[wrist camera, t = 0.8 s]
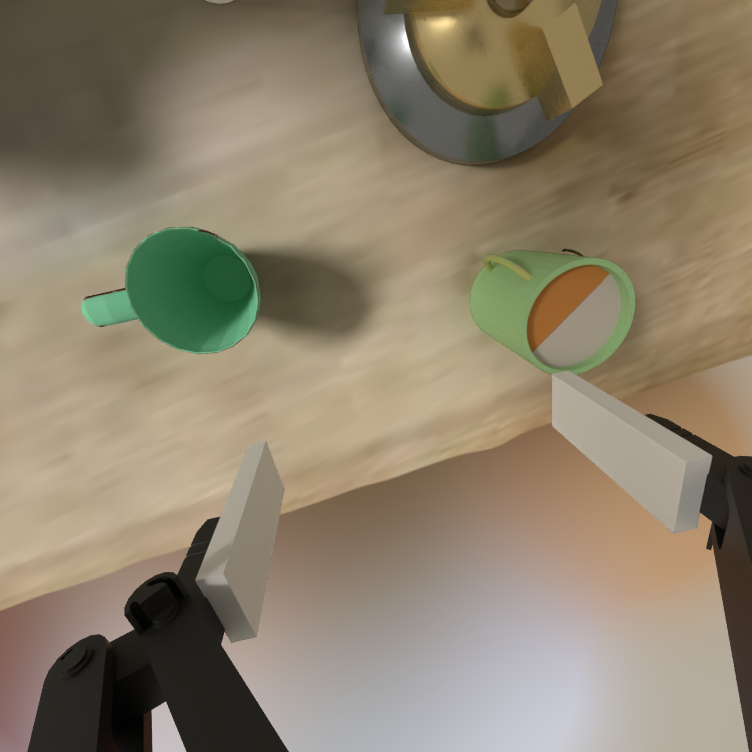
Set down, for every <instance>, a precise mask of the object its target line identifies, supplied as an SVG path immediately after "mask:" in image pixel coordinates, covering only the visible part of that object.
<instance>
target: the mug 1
mask: <svg viewBox="0 0 752 752" xmlns="http://www.w3.org/2000/svg"><path fill="white" fill-rule="evenodd" d="M260 302H261V295H260V289H259V282H258V276H257V274H256V272H255V270H254V268H253V266H252V264H251V262H250V261H249V260H248V259H247V258H246V256H245V255H244V254H243V253H242V252H241V251H240V250H239V249H238V248H237V247H236V246H235V245H233V244H231V243H230V242H228V241H226V240H225V239H223V238H221V237H220V236H218V235H216V234H213V233H211V232H209V231H206V230H202V229H198V228H195V227H171V228H166V229H163V230H161V231H158V232H156V233H153V234H150V235H148V236H147V237H146V238H145V239H144V240H143V241H142V242H141V243H140V244H139V245H138V246H137V247H136V248H135V249H134V250H133V253H132V255H131V257H130V259H129V262H128V264H127V266H126V279H125V288H123V289H119V290H114V291H110V292H106V293H101V294H97V295H92V296H88V297H85V298H84V299H83V301H82V306H81V311H82V314H83V315H84V317H85V318H86V319H87V320H88V321H89V322H90V323H92V324H94V325H96V326H99V327H104V326H109V325H113V324H118V323H123V322H127V321H131V320H135V319H139V321H140V322H141V324H142V325H143V326H144V327H145V328H146V329H147V330H148V331H149V332H150V333H151V334H153V335H154V336H155V337H156V338H157V339H158V340H159V341H161V342H163V343H165V344H167V345H169V346H171V347H173V348H175V349H177V350H181V351H185V352H190V353H194V354H208V353H218V352H220V351H223V350H226V349H228V348H231V347H233V346H235V345H236V344H237V343H238V342H239V341H241V340H242V339H243V338H244V337H245V336H247V335H248V333H249V332H250V330H251V328H252V326H253V325H254V323H255V321H256V319H257V318H258V313H259V308H260Z"/></svg>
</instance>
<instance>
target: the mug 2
mask: <svg viewBox="0 0 752 752" xmlns="http://www.w3.org/2000/svg"><path fill="white" fill-rule="evenodd" d="M562 251H568V252H572V253H575V254H577V255H579V256H573V255H565V254H564V255H563V254H554V253H544V252H534V251H525V250H514V251H509V252H505V253H503V254H501V255H494V254H490V255H487V256H486V257H485V258H484V265H485V266H484V267H483V269H482V270H481V271H480V272H479V274H478V275H477V277H476V279H475V281H474V283H473V286H472V289H471V294H470V310H471V314H472V317H473V319H474V321H475V323H476V324H477V326H478V327H479V328H480V329H481V330H482V331H484V332H485V333H486V334H488V335H489V336H491V337H492V338H494V339H495V340H497V341H498V342H500V343H501V344H503V345H504V346H506V347H507V348H509V349H510V350H512V351H513V352H515V353H516V354H518V355H519V356H521V357H522V358H524V359H525V360H527V361H528V362H529V363H531V364H532V365H534V366H535V367H537V368H538V369H540V370H542V371H544V372H546V373H548V374H555V373H559V372H564V371H570V372H572V373H573V374H575V375H577V374H580V373H583V372H586V371H588V370H590V369H592V368H595V367H596V366H598V365H599V364H601V363H602V362H604V361H605V360H606V359H607V358H608V357H610V356H611V355H612V354H613V353H614V352H615V351H616V349H617V348H618V347H619V346H620V345H621V343H622V342H623V340H624V338H625V337H626V335H627V333H628V331H629V329H630V327H631V324H632V321H633V317H634V312H635V293H634V288H633V285H632V283H631V281H630V279H629V277H628V275H627V274H626V273H625V272H624V270H623V269H621V268H620V267H619V266H618V265H616V264H615V263H612V262H610V261H608V260H605V259H599V258H592V257H584V256H583V255H582V254H580V253H579V252H577V251H574V250H570V249H563V250H562Z"/></svg>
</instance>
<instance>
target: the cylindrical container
mask: <svg viewBox="0 0 752 752" xmlns="http://www.w3.org/2000/svg"><path fill="white" fill-rule="evenodd" d="M205 1H208V2H211V3H217V4H224V3H230V2H232V1H235V0H205Z"/></svg>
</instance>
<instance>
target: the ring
mask: <svg viewBox="0 0 752 752" xmlns="http://www.w3.org/2000/svg"><path fill="white" fill-rule="evenodd" d="M616 4H617V0H601V4H600V8H599V12H598V15H597V18H596V21H595V23H594V26H593V29H592V31H591V33H590V35H589V37H588V41H589V44H590V47H591V50H592V53H593V56H594V59H595V62H596V65H597V68H599V66H600V63H601V61H602V58H603V55H604V53H605V50H606V47H607V44H608V41H609V37H610V33H611V30H612V26H613V22H614V16H615V10H616ZM358 31H359V38H360V45H361V52H362V56H363V60H364V64H365V68H366V72H367V74H368V77H369V80H370V83H371V85H372V88H373V91H374V93H375V95H376V97H377V99H378V101H379V103H380V105H381V107H382V108H383V110H384V111H385V113H386V114H387V116H388V117H389V119H390V120H391V122H392V123H393V124H394V125H395V126H396V128H397V129H398V130H399V131H400V132H401V133H402V134H403V135H404V136H405V137H406V138H407V139H408V140H409V141H410V142H411V143H413V144H414V145H415V146H417V147H418V148H420V149H421V150H423V151H424V152H426V153H427V154H429V155H432V156H434V157H436V158H438V159H440V160H444V161H447V162H450V163H455V164H462V165H483V164H488V163H494V162H497V161H500V160H503V159H506V158H509V157H512V156H514V155H516V154H519V153H521V152H523V151H525V150H527V149H529V148H531V147H533V146H534V145H536V144H537V143H539V142H540V141H542V140H543V139H545V138H546V137H547V136H548V135H549V134H551V133H552V132H553V131H554V130H555V129H556V128H558V127H559V126H560V125H561V123H562V122H563V121H564V120H565V119H566V118H567V117H568V116H569V115H570V114H571V112H572V111H573V110H574V108H575V107H576V106H577V105H576V106H575V107H573V108H572V109H570V110H568V111H566V112H564V113H562V114H560V115H558V116H556V117H554V118H552V119H550V120H548V121H546V118H545V116H544V113H543V111H542V108H541V106H540V104H539V101H538V99H537V96H536V97H534V98H533V99H531V100H530V101H528V102H527V103H525V104H524V105H522V106H520V107H518V108H516V109H514V110H513V111H510V112H507V113H504V114H500V115H494V116H477V115H470V114H467V113H464V112H461V111H459V110H457V109H455V108H453V107H451V106H450V105H448V104H447V103H445V102H444V101H443V100H441V99H440V98H439V97H438V96H437V95H436V94H435V93H434V92H433V91H432V90H431V88H430V87H429V86H428V84H427V83H426V82H425V80H424V79H423V77H422V75H421V74H420V72H419V70H418V68H417V66H416V64H415V61H414V59H413V57H412V54H411V51H410V47H409V44H408V40H407V35H406V30H405V23H404V13H403V14H389V15H386V14H385V0H358Z"/></svg>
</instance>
